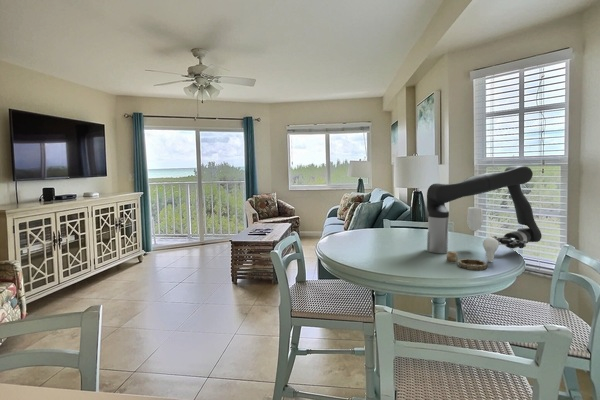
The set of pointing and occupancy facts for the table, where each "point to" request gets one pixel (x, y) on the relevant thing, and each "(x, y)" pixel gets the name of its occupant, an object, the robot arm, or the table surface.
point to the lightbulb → (490, 247)
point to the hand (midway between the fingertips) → (500, 244)
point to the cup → (474, 218)
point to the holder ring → (472, 264)
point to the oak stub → (451, 256)
